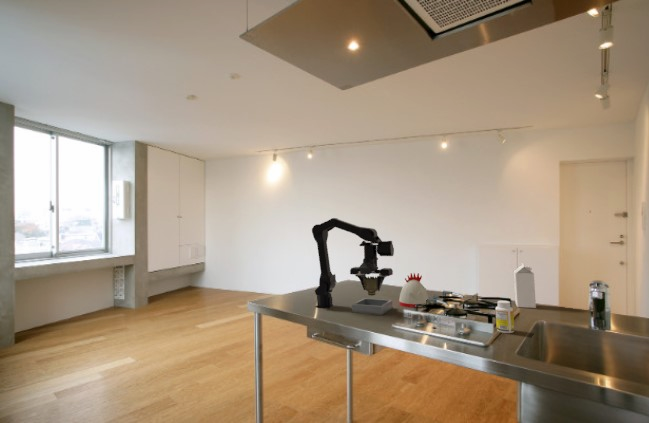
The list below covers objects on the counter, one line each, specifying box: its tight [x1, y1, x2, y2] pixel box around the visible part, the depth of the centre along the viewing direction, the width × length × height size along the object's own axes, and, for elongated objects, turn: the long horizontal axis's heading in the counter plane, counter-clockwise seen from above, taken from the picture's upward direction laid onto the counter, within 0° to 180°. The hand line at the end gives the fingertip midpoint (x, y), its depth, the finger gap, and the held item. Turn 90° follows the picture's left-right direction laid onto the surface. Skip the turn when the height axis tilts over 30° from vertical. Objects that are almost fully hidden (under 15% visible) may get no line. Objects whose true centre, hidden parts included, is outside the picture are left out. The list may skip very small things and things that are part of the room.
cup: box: [363, 276, 378, 296], centre depth 159 cm, size 8×7×8 cm
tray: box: [351, 297, 394, 316], centre depth 158 cm, size 14×14×4 cm
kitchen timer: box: [398, 272, 430, 309], centre depth 167 cm, size 14×14×15 cm
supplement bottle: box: [495, 300, 515, 334], centre depth 122 cm, size 6×6×10 cm
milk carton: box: [513, 262, 537, 309], centre depth 156 cm, size 7×7×19 cm
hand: (371, 290), depth 159 cm, fingers closed on cup, 6 cm apart
